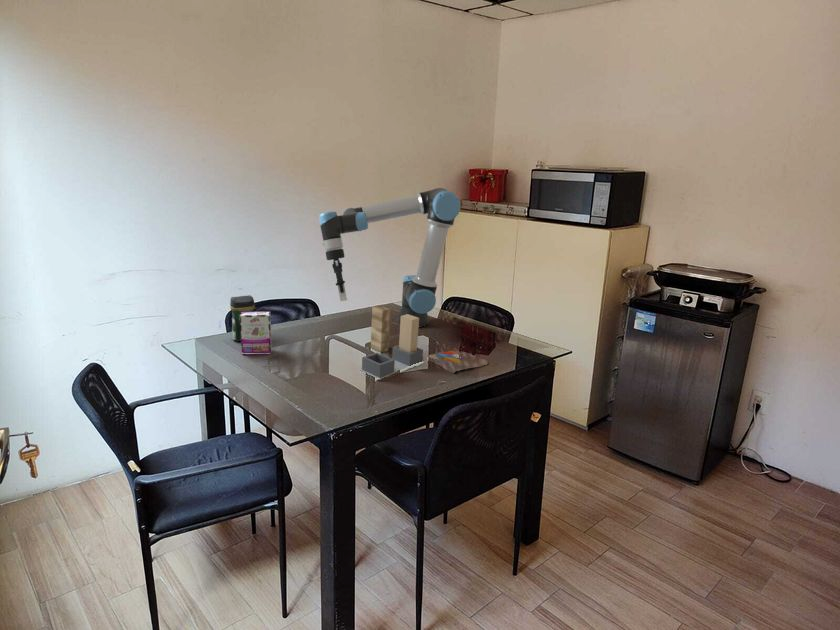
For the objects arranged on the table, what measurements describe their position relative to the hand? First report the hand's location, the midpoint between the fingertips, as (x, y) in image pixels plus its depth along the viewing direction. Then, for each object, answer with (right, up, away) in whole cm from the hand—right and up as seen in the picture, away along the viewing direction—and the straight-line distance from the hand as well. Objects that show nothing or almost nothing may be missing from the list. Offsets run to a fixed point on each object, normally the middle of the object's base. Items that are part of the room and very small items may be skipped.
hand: (343, 299), depth 233 cm
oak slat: (+15, -21, -3) cm, 26 cm away
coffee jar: (-42, -17, -1) cm, 45 cm away
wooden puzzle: (+47, -26, -10) cm, 55 cm away
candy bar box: (-32, -21, -14) cm, 41 cm away
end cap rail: (+22, -27, -20) cm, 40 cm away
